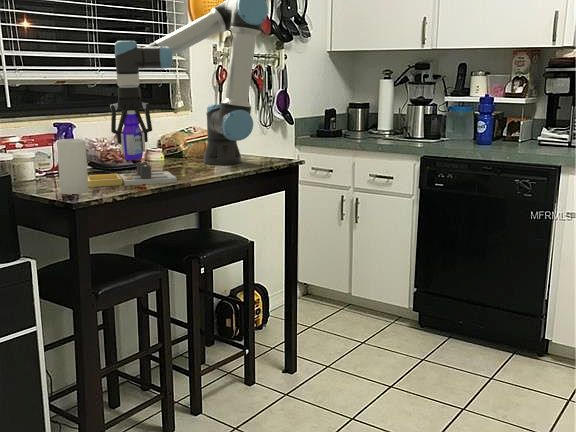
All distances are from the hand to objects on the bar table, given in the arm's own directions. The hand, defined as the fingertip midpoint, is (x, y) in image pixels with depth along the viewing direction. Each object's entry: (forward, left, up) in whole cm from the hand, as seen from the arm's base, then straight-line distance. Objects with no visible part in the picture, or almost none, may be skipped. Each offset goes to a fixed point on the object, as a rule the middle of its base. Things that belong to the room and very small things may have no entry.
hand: (133, 152), depth 224 cm
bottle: (0, 0, -3) cm, 3 cm away
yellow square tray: (+13, +15, -8) cm, 21 cm away
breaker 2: (-1, +19, -6) cm, 20 cm away
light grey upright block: (+23, +27, -8) cm, 36 cm away
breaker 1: (-1, +12, -6) cm, 13 cm away
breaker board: (-2, +15, -8) cm, 17 cm away
